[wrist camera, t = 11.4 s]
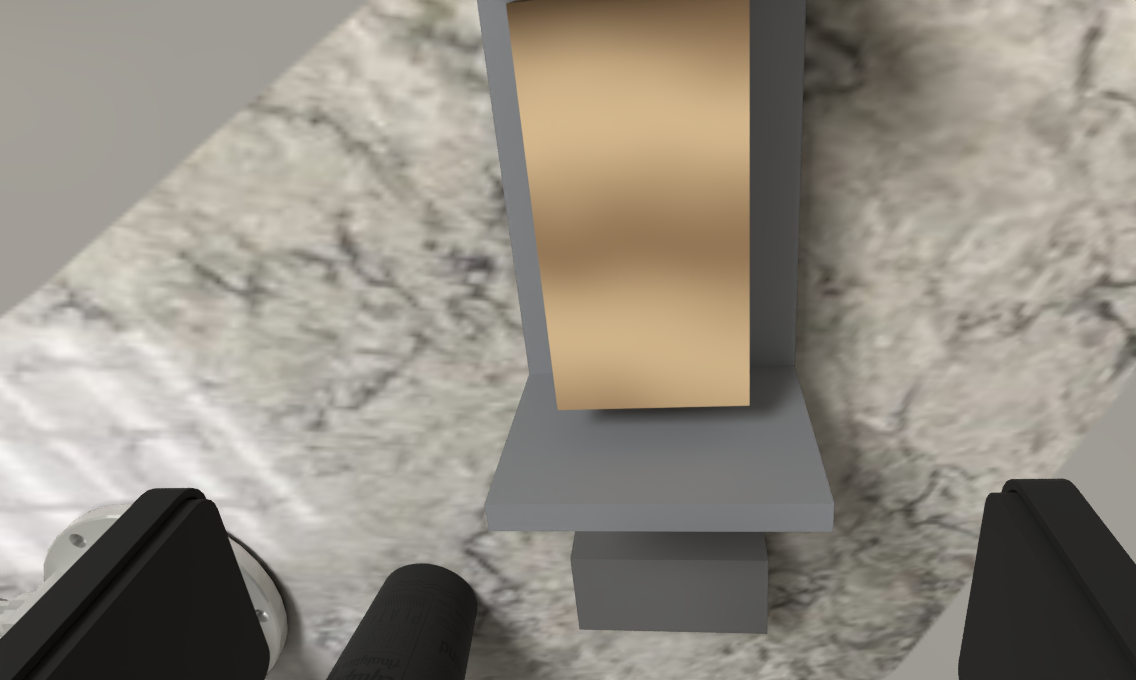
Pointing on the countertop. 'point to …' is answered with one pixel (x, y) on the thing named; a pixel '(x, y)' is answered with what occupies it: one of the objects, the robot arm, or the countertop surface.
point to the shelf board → (640, 195)
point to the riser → (671, 581)
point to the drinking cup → (413, 629)
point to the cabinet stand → (675, 434)
